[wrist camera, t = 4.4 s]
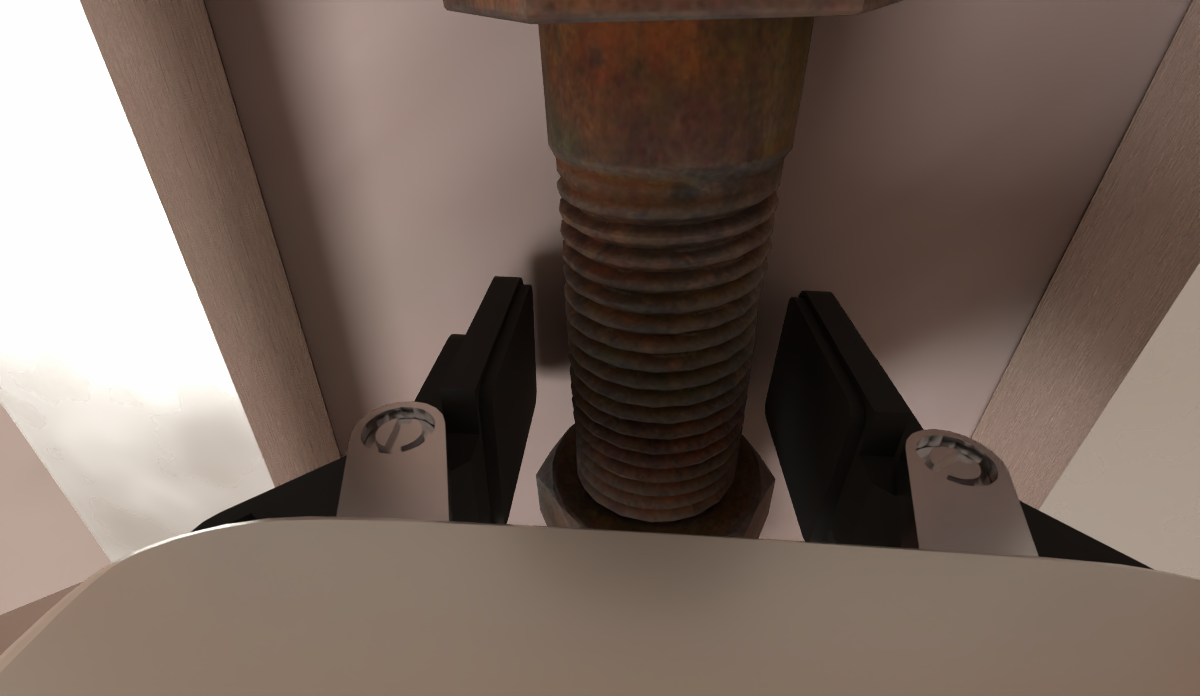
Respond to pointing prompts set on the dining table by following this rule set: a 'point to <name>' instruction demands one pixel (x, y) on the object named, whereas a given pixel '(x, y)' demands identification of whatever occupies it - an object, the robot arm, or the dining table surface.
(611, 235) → the bolt
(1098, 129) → the dining table surface
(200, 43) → the plate
